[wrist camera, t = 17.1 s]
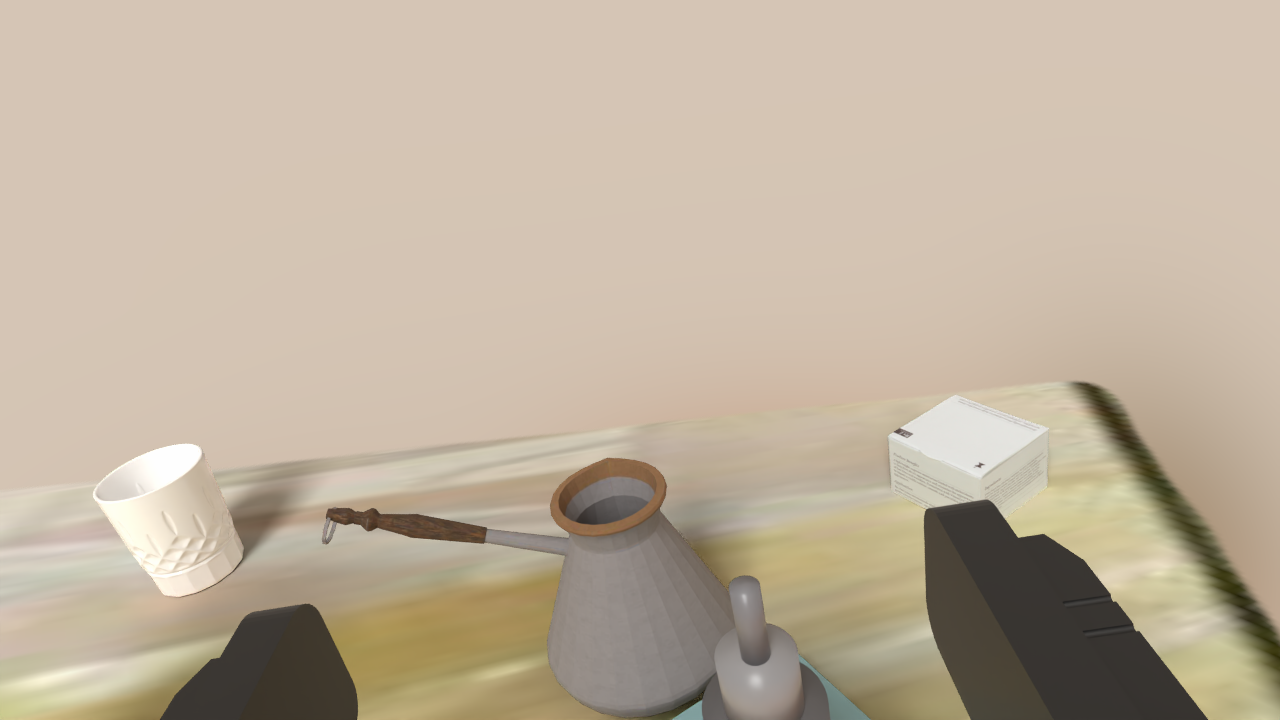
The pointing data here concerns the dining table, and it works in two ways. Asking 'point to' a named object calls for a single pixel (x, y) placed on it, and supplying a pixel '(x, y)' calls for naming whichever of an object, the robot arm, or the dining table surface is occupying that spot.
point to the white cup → (172, 518)
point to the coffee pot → (609, 589)
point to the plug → (760, 668)
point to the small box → (968, 457)
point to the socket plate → (841, 708)
